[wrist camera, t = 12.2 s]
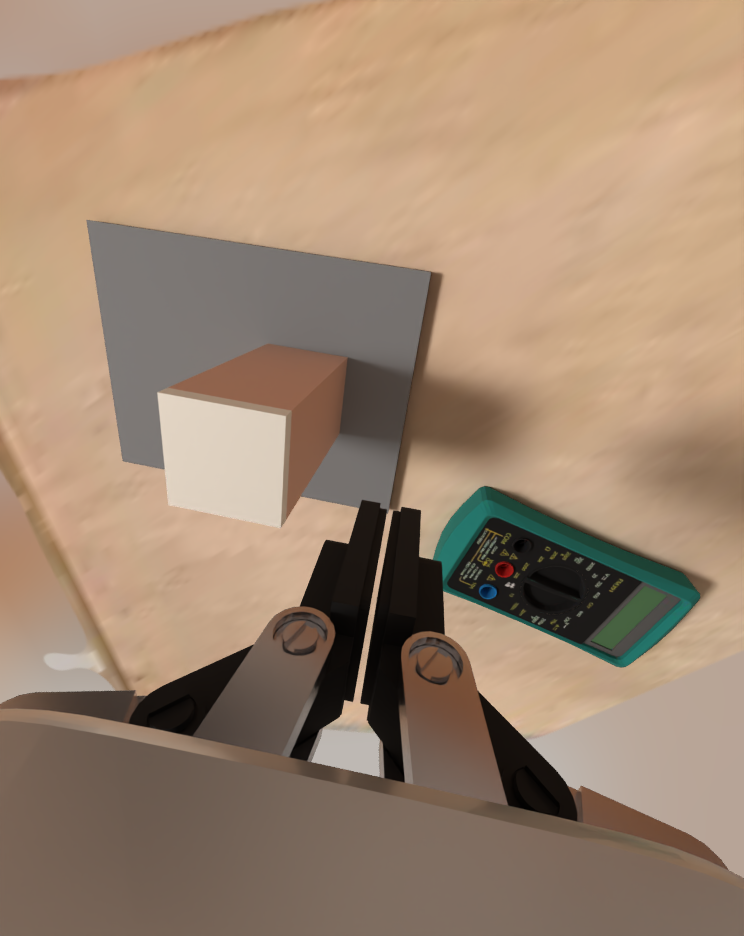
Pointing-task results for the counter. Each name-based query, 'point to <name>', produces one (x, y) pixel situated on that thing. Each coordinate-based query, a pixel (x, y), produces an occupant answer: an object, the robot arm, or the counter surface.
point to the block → (251, 432)
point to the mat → (259, 337)
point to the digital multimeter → (560, 579)
